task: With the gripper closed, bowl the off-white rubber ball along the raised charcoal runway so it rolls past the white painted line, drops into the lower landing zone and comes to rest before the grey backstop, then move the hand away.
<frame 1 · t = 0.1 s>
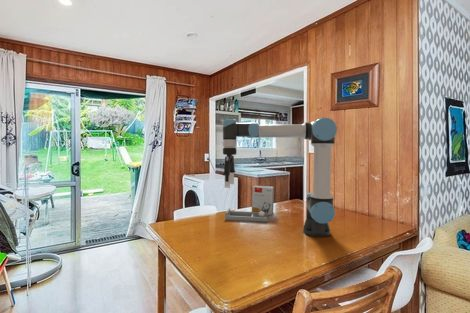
hand: (229, 185, 142), 28 cm above the table, fingers open, 13 cm apart
lane: (246, 218, 177), on the table
ball: (261, 214, 176), point 4 cm above the table, touching lane
hard drive box: (262, 213, 193), on the table
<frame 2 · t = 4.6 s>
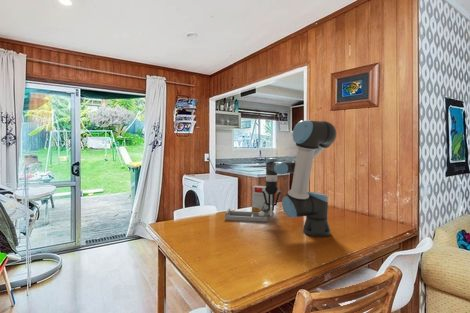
hand: (271, 215, 175), 3 cm above the table, fingers closed
nothing on the table moved.
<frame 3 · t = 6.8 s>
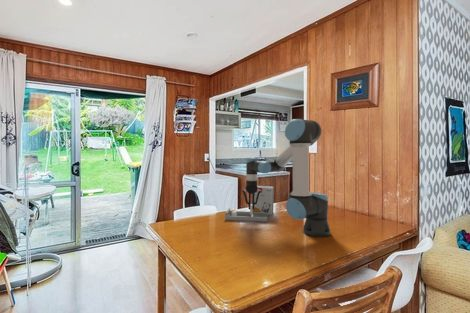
hand: (251, 214, 177), 3 cm above the table, fingers closed
ball: (234, 213, 179), point 3 cm above the table, tilted 165°, touching lane
everything else where it was.
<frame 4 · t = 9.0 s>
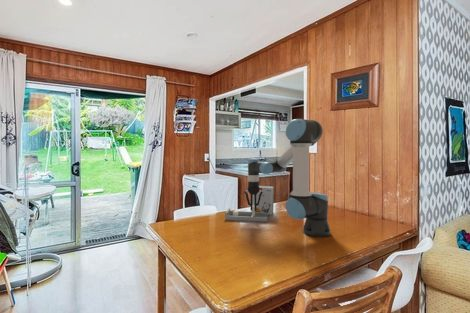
hand: (253, 215, 176), 3 cm above the table, fingers closed
ball: (235, 213, 179), point 3 cm above the table, tilted 166°, touching lane
everything else where it was.
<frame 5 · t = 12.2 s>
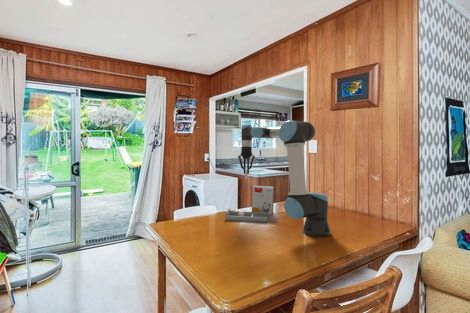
hand: (246, 178, 188), 26 cm above the table, fingers closed
ball: (241, 213, 179), point 3 cm above the table, tilted 55°, touching lane
everything else where it was.
at the end: ball inside the target area on the lane (2.4 cm from its centre), point 2.6 cm above the lane's base; ball moved 14.0 cm from its start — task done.
